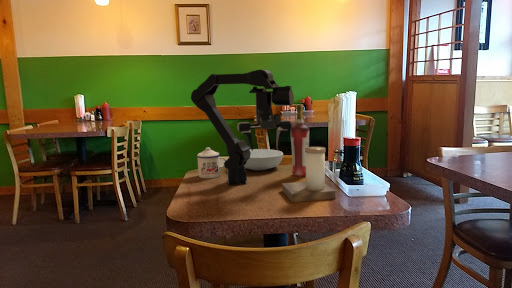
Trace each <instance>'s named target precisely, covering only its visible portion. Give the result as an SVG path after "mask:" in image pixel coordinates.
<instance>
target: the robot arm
mask: <svg viewBox="0 0 512 288" xmlns="http://www.w3.org/2000/svg"><path fill="white" fill-rule="evenodd" d="M221 85H249V86H253V87H252V88H251V89H250V90H249V91H248V92H249V94H254V95H255V123H251V122H249V121H242V122H241V121H240V122H237V125H236V129H237V131H238V132H240V133H241V134H243V135H244V136H245V138H246V139H247V142H248V144H247V142H246V140H245V139H242V140H240V139H238V138H237V137H236V135H235V134H234V132H233V130H232V129H231V127H230V126H229V124H228V123H227V121H226V120H225V118H224V116H223V115H222V113H221V112H220V110H219V109H218V108H217V105H216V99H215V97H214V95H215V94H216V93H217V91H218V89H219V87H220V86H221ZM258 87H262V88H258ZM292 88H293V87H292V85H285V86H279V84H277V82H276V80H275V79H274V75H273V73H272V72H271V71H270V70H268V69H255V70H252V71H249V72H244V73H224V74H222V73H221V74H220V73H219V74H218V73H212V74H210V75H208V77H207V78H206V79H205V80H204V81H203V82H202V83H200V84H199V86H197V88H195V89H193V90H192V92H191V95H190V99H191V102H192V104H194V105H195V107H197V109H199V111H200V110H201V111H202V113H204V114H205V115H206V117H207V118H208V120H209V121H210V123H211V124H212V126H213V127H214V129H215V130H216V132H217V133H218V136H219V137H220V138H221V140H222V141H223V143H224V144H225V147H226V154H227V155H228V157H227V159H226V161H225V160H224V163H223V166H225V168H224V169H225V170H227V175H226V176H227V179H226V182H227V185H228V186H235V185H236V186H237V185H238V186H239V185H246V184H247V181H248V178H247V177H248V176H247V170H246V168H245V167H244V165H246V162H247V160H248V159H249V158H250V155H251V152H250V150H252V151H253V149H254V144H253V143H254V142H253V138H252V131H251V130H257V129H262V130H267V129H271V130H273V129H276V139H275V140H276V143H275V144H276V145H275V146H276V150H279V148H280V145H281V142H282V139H283V136H284V135H285V134H286V133H287V132H289V130H290V129H292V127H293V124H292V121H290V120H287V119H283V120H282V119H281V117H282V116H281V114H280V113H273V104H274V105H275V106H276V107H281V106H283V107H288V106H289V107H290V106H291V107H292V106H293V105H294V101H295V95H294V91H293V89H292Z"/></svg>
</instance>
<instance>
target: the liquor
mask: <svg viewBox="0 0 512 288" xmlns="http://www.w3.org/2000/svg"><path fill="white" fill-rule="evenodd" d="M295 108H296V110H295V111H296V119H295V124H294V125H292V129H289V130H290V142H291V143H290V145H291V158H292V159H291V160H292V171H291V174H292V175H293V176H295V177H297V178H303V177H305V178H306V152H305V148H307V147H310V127H309V126H307V125H305V123H304V122H305V121H304V115H303V114H304V113H303V112H304V104H296V105H295Z"/></svg>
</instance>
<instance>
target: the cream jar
mask: <svg viewBox="0 0 512 288" xmlns="http://www.w3.org/2000/svg"><path fill="white" fill-rule="evenodd" d="M305 152H306V176H305V182H306V189H308V190H312V191H320V190H324V189H325V184H326V176H325V175H326V173H325V172H326V170H325V169H326V168H325V166H326V164H325V163H326V160H325V159H326V158H325V157H326V155H325V154H326V147H324V146H309V147H307V148H305Z"/></svg>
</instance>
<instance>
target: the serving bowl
mask: <svg viewBox="0 0 512 288" xmlns="http://www.w3.org/2000/svg"><path fill="white" fill-rule="evenodd" d="M249 150H250V152H251V155H250V158H249V159H248V160H247V162H246V165H244V167H245V169H248V170H250V171H251V170H252V171H265V170H269V169H272V168H276V167H277V166H278V165H279V164H281V162H282V160H283V157H284V153H283V152H282V150H281V151H280V150H278V149H276V150H275V149H270V148H269V149H266V148H260V149H259V148H255V149H254V148H253V151H252V150H251V149H249Z"/></svg>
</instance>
